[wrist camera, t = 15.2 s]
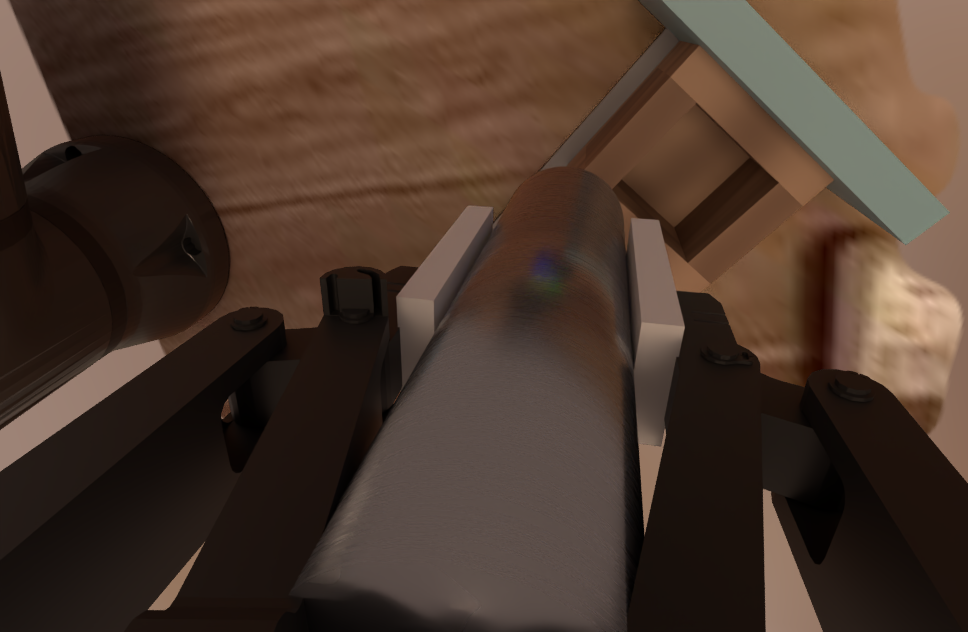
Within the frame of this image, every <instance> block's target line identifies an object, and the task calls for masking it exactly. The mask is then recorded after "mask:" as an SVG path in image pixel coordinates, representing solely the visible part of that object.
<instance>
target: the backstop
mask: <svg viewBox="0 0 968 632" xmlns="http://www.w3.org/2000/svg"><path fill="white" fill-rule="evenodd" d="M638 1H639V2H640V3H641V4H642V5H643V6H644V7H645V8H646V9H647V10H648V11H650V12H651V13H652V14H653V15H654V16H655V17H656V18H657V19H658V20H659V21H660V22H661V23H662V24H663V25H664V26H665V27H666V28H665V29H664V30H663V32H662V33H661V34H660V35H659V36H658V37H657V38H656V39H655V41H654V42H653V43H652V44H651V45H650V46H649V47H648V49H647V50H646V51H645V52H644V53H643V54H642V55H641V56H640V58H639V59H638V60H637V61H636V62H635V63H634V64H633V65H632V67H631V68H630V69H629V70H628V71H627V72H626V73H625V75H624V76H623V77H622V78H621V79H620V80H619V81H618V82H617V84H616V85H615V86H614V87H613V88H612V89H611V90H610V91H609V93H608V94H607V95H606V96H605V97H604V98H603V99H602V101H601V102H600V103H599V104H598V105H597V106H596V107H595V108H594V110H593V111H592V112H591V113H590V114H589V115H588V116H587V118H586V119H585V120H584V121H583V122H582V123H581V124H580V125H579V127H578V128H577V129H576V130H575V131H574V132H573V133H572V134H571V136H570V137H569V138H568V139H567V140H566V141H565V142H564V144H563V145H562V146H561V147H560V148H559V149H558V150H557V151H556V153H555V154H554V155H553V156H552V157H551V158H550V159H549V160H548V162H547V163H546V164H545V165H544V166H543V167H542V168H541V170H540V171H543V170H545V169H549V168H553V167H560V166H567V165H568V164H569V163H570V161H571V160H572V159H573V158H574V157H575V156H576V155H577V154H578V153H579V152H580V150H581V149H582V148H583V147H584V146H585V145H586V144H587V143H588V142H589V141H590V139H591V138H592V137H593V136H594V135H595V134H596V133H597V132H598V131H599V129H600V128H601V127H602V126H603V125H604V124H605V123H606V122H607V121H608V120H609V118H610V117H611V116H612V115H613V114H614V113H615V112H616V111H617V110H618V109H619V107H620V106H621V105H622V104H623V103H624V102H625V101H626V100H627V99H628V97H629V96H630V95H631V94H632V93H633V92H634V91H635V90H636V89H637V88H638V86H639V85H640V84H641V83H642V82H643V81H644V80H645V79H646V78H647V77H648V75H649V74H650V73H651V72H652V71H653V70H654V69H655V68H656V67H657V66H658V64H659V63H660V62H661V61H662V60H663V59H664V58H665V57H666V56H667V54H668V53H669V52H670V51H671V50H672V49H673V48H674V47H675V46H676V45H677V43H678V42H679V41H683V42H688V43H692V44H696V45H700V46H701V47H702V48H703V49H704V50H705V51H706V52H707V53H708V54H709V55H710V56H711V57H712V58H713V59H714V60H715V61H716V62H717V63H718V64H719V65H720V66H721V67H722V68H723V69H724V70H725V71H726V72H727V73H728V74H729V75H730V76H731V77H732V78H733V79H734V80H735V81H736V82H737V83H738V84H739V85H740V86H741V87H742V88H743V89H744V90H745V91H746V92H747V93H748V94H749V95H750V96H751V97H752V98H753V99H754V100H755V101H756V102H757V103H758V104H759V105H760V106H761V107H762V108H763V109H764V110H765V111H766V112H767V113H768V114H769V115H770V116H771V117H772V118H773V119H774V120H775V121H776V122H777V123H778V124H779V125H780V126H781V127H782V128H783V129H784V130H785V131H786V132H787V133H788V134H789V135H790V136H791V137H792V138H793V139H794V140H795V141H796V142H797V143H798V144H799V145H800V146H801V147H802V148H803V149H804V150H805V151H806V152H807V153H808V154H809V155H810V156H811V157H812V158H813V159H814V160H815V161H816V162H817V163H818V164H819V165H820V166H821V167H822V168H823V169H824V170H825V171H826V172H827V173H828V174H829V175H830V176H831V177H832V178H833V179H834V181H832V182H831V183H830V184H829V185H828V186H826V187H827V188H828V189H829V190H830V191H832V192H833V193H834V194H836V195H837V196H839V197H840V198H841V199H843V200H844V201H846V202H847V203H848V204H850V205H851V206H852V207H854V208H855V209H857V210H858V211H859V212H861V213H862V214H864V215H865V216H866V217H868V218H869V219H870V220H872V221H873V222H875V223H876V224H877V225H879V226H880V227H882V228H883V229H884V230H886V231H887V232H888V233H890V234H891V235H893V236H894V237H895V238H897V239H898V240H899V241H901V242H902V243H904V244H905V245H907V244H908V243H910V242H911V241H912V240H914V239H915V238H916V237H918V236H919V235H920V234H922V233H923V232H924V231H926V230H927V229H928V228H930V227H931V226H933V225H934V224H935V223H936V222H938V221H939V220H941V219H942V218H943V217H945V216H946V215H947V214H949V213H950V212H949V211H948V210H947V209H946V208H945V207H944V206H943V205H942V204H941V203H940V202H939V201H938V200H937V199H936V198H935V197H934V196H933V195H932V193H931V192H930V191H929V190H928V189H927V188H926V187H925V186H924V185H923V184H922V183H921V182H920V181H919V180H918V179H917V178H916V177H915V176H914V175H913V174H912V173H911V172H910V171H909V170H908V169H907V168H906V166H905V165H904V164H903V163H902V162H901V161H900V160H899V159H898V158H897V157H896V156H895V155H894V154H893V153H892V152H891V151H890V150H889V149H888V148H887V147H886V146H885V145H884V144H883V143H882V142H881V141H880V140H879V138H878V137H877V136H876V135H875V134H874V133H873V132H872V131H871V130H870V129H869V128H868V127H867V126H866V125H865V124H864V123H863V122H862V121H861V120H860V119H859V118H858V117H857V116H856V115H855V114H854V113H853V112H852V110H851V109H850V108H849V107H848V106H847V105H846V104H845V103H844V102H843V101H842V100H841V99H840V98H839V97H838V96H837V95H836V94H835V93H834V92H833V91H832V90H831V89H830V88H829V87H828V86H827V85H826V83H825V82H824V81H823V80H822V79H821V78H820V77H819V76H818V75H817V74H816V73H815V72H814V71H813V70H812V69H811V68H810V67H809V66H808V65H807V64H806V63H805V62H804V61H803V60H802V59H801V58H800V57H799V55H798V54H797V53H796V52H795V51H794V50H793V49H792V48H791V47H790V46H789V45H788V44H787V43H786V42H785V41H784V40H783V39H782V38H781V37H780V36H779V35H778V34H777V33H776V32H775V31H774V30H773V28H772V27H771V26H770V25H769V24H768V23H767V22H766V21H765V20H764V19H763V18H762V17H761V16H760V15H759V14H758V13H757V12H756V11H755V10H754V9H753V8H752V7H751V6H750V5H749V4H748V3H747V2H746V0H638ZM540 171H539V172H540ZM503 212H504V211H503ZM502 214H503V213H502ZM502 214H501V215H502ZM501 215H500V216H499V217H498V218H497V219H496V220H495V222H494V223H493V229H494V228H495V226H496V224H497V222H498V221H499V219H500V217H501Z"/></svg>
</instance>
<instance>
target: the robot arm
mask: <svg viewBox="0 0 968 632" xmlns="http://www.w3.org/2000/svg"><path fill="white" fill-rule="evenodd" d="M492 231H493V207H482V206H469V205H468V206H467V207H466V208H465V210H464V211H463V212H462V214H461V215H460V216H459V217H458V219H457V220H456V221H455V222H454V224H453V225H452V226H451V228H450V229H449V230H448V231H447V233H446V234H445V235H444V236H443V238H442V239H441V240H440V242H439V243H438V244H437V245H436V247H435V248H434V249H433V250H432V252H431V253H430V254H429V256H428V257H427V258H426V259H425V261H424V262H423V263H422V264H421V266H420V267H419V268H418V267H408V266H400V267H397V268H395V269H393V270H391V271H389V272H387V273H386V274H385V273H383V272H382V271H381V270H378V269H374V268H371V267H361V266H357V267H344V268H339V269H335V270H332V271H330V272H327V273H325V274H324V275H323V276H322V277H321V278H320V285H321V294H322V303H323V312H324V316H323V318H322V320H321V322H320V324H319V326H318V327H315V328H303V329H285V327H284V320H283V315H282V314H281V313H280V312H278V311H277V310H273V309H269V308H259V307H250V308H248V307H247V308H242V309H239V310H238V311H234V312H231V313H228V314H227V315H225V316H223V317H221V318H219V319H218V320H216V321H215V322H213V323H212V324H210V325H209V326H208V327H206V328H205V329H203V330H202V331H200V332H199V333H198V334H196V335H195V336H193V337H192V338H191V339H189V340H188V341H186V342H185V343H183V344H182V345H181V346H179V347H178V348H176V349H175V350H173V351H172V352H171V353H169V354H168V355H166V356H165V357H163V358H162V359H161V360H159V361H158V362H156V363H155V364H153V365H152V366H151V367H149V368H148V369H146V370H145V371H143V372H142V373H141V374H139V375H138V376H136V377H135V378H133V379H132V380H131V381H129V382H128V383H126V384H125V385H123V386H122V387H121V388H119V389H118V390H116V391H115V392H113V393H112V394H111V395H109V396H108V397H106V398H105V399H104V400H102V401H101V402H99V403H98V404H96V405H95V406H94V407H92V408H91V409H89V410H88V411H86V412H85V413H83V414H82V415H81V416H79V417H78V418H76V419H75V420H73V421H72V422H71V423H69V424H68V425H66V426H65V427H63V428H62V429H61V430H60V431H58V432H56V433H55V434H54V435H52V436H51V437H49V438H48V439H46V440H45V441H44V442H42V443H41V444H39V445H38V446H36V447H35V448H33V449H32V450H31V451H29V452H28V453H26V454H25V455H23V456H22V457H21V458H19V459H18V460H16V461H15V462H13V463H12V464H11V465H9V466H8V467H6V468H5V469H3V470H2V471H1V472H0V632H309V630H308V624H307V618H306V612H305V606H304V600H303V598H301V597H296V596H291V595H289V593H290V591H291V590H292V588H293V586H294V584H295V582H296V581H297V579H298V577H299V575H300V574H301V572H302V570H303V568H304V567H305V565H306V563H307V561H308V559H309V558H310V556H311V554H312V552H313V551H314V549H315V547H316V545H317V543H318V542H319V540H320V538H321V536H322V535H323V532H324V530H325V528H326V526H327V524H328V522H329V520H330V518H331V516H332V513H333V511H334V509H335V507H336V505H337V503H338V501H339V499H340V498H341V496H342V494H343V492H344V491H345V489H346V487H347V485H348V483H349V482H350V480H351V478H352V476H353V475H354V473H355V471H356V469H357V468H358V466H359V464H360V462H361V461H362V459H363V457H364V455H365V454H366V452H367V450H368V448H369V447H370V445H371V443H372V441H373V440H374V438H375V436H376V434H377V433H378V431H379V429H380V427H381V426H382V424H383V422H384V420H385V419H386V417H387V415H388V413H389V412H390V410H391V408H392V406H393V405H394V404H393V402H394V401H395V399H396V397H397V395H398V394H399V392H400V390H401V391H402V389H403V387H404V385H405V384H406V382H407V380H408V378H409V377H410V375H411V373H412V371H413V370H414V368H415V366H416V364H417V363H418V361H419V359H420V357H421V356H422V354H423V352H424V350H425V349H426V347H427V345H428V343H429V342H430V340H431V338H432V336H433V335H434V333H435V331H436V329H437V328H438V326H439V324H440V322H441V321H442V319H443V317H444V315H445V314H446V312H447V310H448V308H449V307H450V305H451V303H452V301H453V300H454V298H455V296H456V294H457V293H458V291H459V289H460V287H461V286H462V284H463V282H464V280H465V279H466V277H467V275H468V273H469V272H470V270H471V268H472V266H473V265H474V263H475V261H476V259H477V258H478V256H479V254H480V252H481V251H482V249H483V247H484V245H485V244H486V242H487V240H488V238H489V236H490V235H491V233H492ZM626 263H627V278H628V293H629V309H630V324H631V339H632V354H633V370H634V385H635V400H636V415H637V431H638V443H639V444H647V445H654V446H661V444H662V439H663V433H664V429H666V439H665V444H664V449H663V453H662V457H661V462H660V467H659V471H658V476H657V481H656V485H655V490H654V495H653V500H652V504H651V509H650V514H649V518H648V523H647V527H646V532H645V537H644V541H643V546H642V551H641V555H640V560H639V565H638V569H637V574H636V579H635V584H634V588H633V593H632V598H631V602H630V607H629V612H628V616H627V632H766V629H765V582H764V536H763V535H764V534H763V533H764V532H763V531H764V530H763V489H766V490H769V491H771V496H772V503H773V506H774V508H775V511H776V513H777V516H778V518H779V521H780V523H781V526H782V528H783V531H784V533H785V536H786V538H787V541H788V543H789V546H790V548H791V551H792V554H793V556H794V559H795V561H796V564H797V566H798V569H799V572H800V574H801V577H802V579H803V582H804V584H805V587H806V589H807V592H808V594H809V597H810V599H811V602H812V605H813V607H814V610H815V612H816V615H817V617H818V620H819V622H820V625H821V628H822V630H823V632H968V483H967V482H966V481H965V480H964V478H963V477H962V476H961V475H960V474H959V472H958V471H957V470H956V469H955V468H954V466H953V465H952V464H951V463H950V462H949V461H948V459H947V458H946V457H945V456H944V454H943V453H942V452H941V451H940V450H939V448H938V447H937V446H936V445H935V444H934V442H933V441H932V440H931V439H930V438H929V436H928V435H927V434H926V433H925V432H924V430H923V429H922V428H921V427H920V426H919V424H918V423H917V422H916V421H915V420H914V418H913V417H912V416H911V415H910V414H909V412H908V411H907V410H906V409H905V408H904V406H903V405H902V404H901V403H900V402H899V400H898V399H897V398H896V397H895V396H894V394H893V393H891V392H890V391H889V390H888V389H887V388H886V387H884V386H883V385H881V384H880V383H878V382H876V381H874V380H872V379H870V378H869V377H868V376H865V375H862V374H860V375H859V374H858V373H856V372H853V371H842V370H837V369H822V370H819V371H816V372H812V374H811V375H810V376H809V377H808V379H807V382H806V386H805V387H801V386H798V385H794V384H790V383H787V382H783V381H780V380H777V379H774V378H771V377H769V376H766V375H764V374H762V373H760V362H759V360H758V358H757V356H756V355H755V354H753V353H752V352H751V351H750V350H748V349H746V348H744V347H742V346H740V345H738V344H737V343H736V340H735V338H734V335H733V333H732V330H731V327H730V325H728V324H729V322H728V320H727V317H726V316H725V312H724V310H723V307H722V305H721V303H720V302H718V301H717V300H716V299H715V298H713V297H712V296H711V295H710V294H707V293H697V292H686V291H676V288H675V284H674V280H673V276H672V272H671V268H670V264H669V260H668V255H667V251H666V247H665V243H664V239H663V235H662V231H661V227H660V223H659V220H651V219H638V218H631V223H630V230H629V237H628V244H627V251H626ZM228 274H229V254H228V247H227V242H226V238H225V234H224V231H223V228H222V226H221V223H220V221H219V218H218V216H217V214H216V212H215V210H214V208H213V207H212V205H211V203H210V202H209V200H208V199H207V197H206V196H205V194H204V193H203V192H202V190H201V189H200V188H199V186H198V185H197V184H196V183H195V182H194V181H193V180H192V178H191V177H190V176H189V175H188V174H187V173H186V172H185V171H183V170H182V169H181V168H180V167H179V166H178V165H177V164H175V163H174V162H173V161H171V160H170V159H169V158H167V157H166V156H164V155H163V154H161V153H160V152H158V151H156V150H154V149H153V148H151V147H149V146H147V145H144V144H142V143H139V142H137V141H134V140H131V139H127V138H123V137H118V136H109V135H99V136H91V137H86V138H81V139H77V140H73V141H68V142H64V143H61V144H58V145H56V146H54V147H52V148H50V149H48V150H46V151H44V152H43V153H41V154H40V155H38V156H37V157H36V158H35V159H34V160H32V161H31V162H30V163H28V164H27V165H26V166H25V167H24V168H22V169H21V165H20V160H19V155H18V151H17V146H16V141H15V137H14V132H13V127H12V123H11V118H10V114H9V110H8V104H7V100H6V95H5V91H4V86H3V81H2V77H1V72H0V430H1V429H2V428H4V427H5V426H6V425H8V424H9V423H11V422H12V421H14V420H15V419H16V418H18V417H19V416H21V415H22V414H23V413H25V412H26V411H28V410H29V409H30V408H32V407H33V406H35V405H36V404H37V403H39V402H40V401H42V400H43V399H44V398H46V397H47V396H49V395H50V394H52V393H53V392H54V391H56V390H57V389H59V388H60V387H62V386H63V385H64V384H66V383H67V382H68V381H70V380H71V379H73V378H74V377H76V376H77V375H78V374H80V373H81V372H83V371H84V370H86V369H87V368H88V367H90V366H91V365H93V364H94V363H95V362H96V361H98V360H100V359H101V358H102V357H104V356H105V355H107V354H108V353H110V352H112V351H114V350H118V349H122V348H126V347H130V346H134V345H138V344H142V343H146V342H150V341H154V340H158V339H162V338H166V337H170V336H173V335H176V334H178V333H180V332H182V331H184V330H186V329H188V328H189V327H191V326H192V325H193V324H195V323H196V322H197V321H199V320H200V319H201V318H203V317H204V316H205V315H207V314H208V313H209V312H210V311H211V310H212V309H213V308H214V307H215V306H216V305H217V303H218V302H219V300H220V298H221V297H222V295H223V292H224V290H225V287H226V284H227V280H228ZM227 399H228V400H229V405H230V409H231V412H230V413H229V414H228V415H227V416H226V417H225V418H224V419H221V412H222V409H223V406H224V403H225V402H226V400H227ZM204 542H205V543H204ZM203 543H204V545H203V547H202V549H201V551H200V553H199V555H198V557H197V558H196V560H195V562H194V565H193V566H192V568H191V570H190V572H189V574H188V576H187V578H186V579H185V581H184V584H183V585H182V587H181V589H180V591H179V593H178V595H177V597H176V598H175V600H174V601H173V603H172V604H171V606H170V607H169V608H167V609H166V610H148V609H149V607H150V606H151V605H152V604H153V603H154V602H155V600H156V599H157V598H158V597H159V595H160V594H161V593H162V592H163V591H164V590H165V588H166V587H167V586H168V585H169V584H170V582H171V581H172V580H173V579H174V578H175V577H176V575H177V574H178V573H179V572H180V570H181V569H182V568H183V567H184V566H185V565H186V563H187V562H188V561H189V560H190V559H191V557H192V556H193V555H194V554H195V553H196V551H197V550H198V549H199V548H200V547H201V545H202V544H203Z"/></svg>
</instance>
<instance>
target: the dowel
mask: <svg viewBox="0 0 968 632" xmlns="http://www.w3.org/2000/svg"><path fill="white" fill-rule="evenodd" d="M643 523H644V522H643V507H642V492H641V476H640V462H639V446H638V431H637V415H636V400H635V385H634V370H633V354H632V339H631V324H630V309H629V293H628V278H627V263H626V247H625V232H624V218H623V212H622V207H621V205H620V202H619V200H618V198H617V196H616V194H615V193H614V191H613V190H612V189H611V187H610V186H609V185H608V184H607V183H606V182H605V181H604V180H602V179H601V178H600V177H598V176H597V175H595V174H593V173H591V172H589V171H587V170H584V169H580V168H577V167H569V166H560V167H553V168H549V169H545V170H543V171H540V172H538V173H536V174H534V175H532V176H531V177H529V178H528V179H527V180H526V181H524V182H523V183H522V184H521V185H520V186H519V187H518V189H517V190H516V191H515V193H514V194H513V196H512V198H511V200H510V201H509V203H508V205H507V207H506V208H505V210H504V212H503V214H502V215H501V217H500V219H499V221H498V222H497V224H496V226H495V228H494V229H493V231H492V233H491V235H490V236H489V238H488V240H487V242H486V244H485V245H484V247H483V249H482V251H481V252H480V254H479V256H478V258H477V259H476V261H475V263H474V265H473V266H472V268H471V270H470V272H469V273H468V275H467V277H466V279H465V280H464V282H463V284H462V286H461V287H460V289H459V291H458V293H457V294H456V296H455V298H454V300H453V301H452V303H451V305H450V307H449V308H448V310H447V312H446V314H445V315H444V317H443V319H442V321H441V322H440V324H439V326H438V328H437V329H436V331H435V333H434V335H433V336H432V338H431V340H430V342H429V343H428V345H427V347H426V349H425V350H424V352H423V354H422V356H421V357H420V359H419V361H418V363H417V364H416V366H415V368H414V370H413V371H412V373H411V375H410V377H409V378H408V380H407V382H406V384H405V385H404V387H403V389H402V391H401V392H400V394H399V396H398V398H397V399H396V401H395V403H394V405H393V406H392V408H391V410H390V412H389V413H388V415H387V417H386V419H385V420H384V422H383V424H382V426H381V427H380V429H379V431H378V433H377V434H376V436H375V438H374V440H373V441H372V443H371V445H370V447H369V448H368V450H367V452H366V454H365V455H364V457H363V459H362V461H361V462H360V464H359V466H358V468H357V469H356V471H355V473H354V475H353V476H352V478H351V480H350V482H349V483H348V485H347V487H346V489H345V491H344V492H343V494H342V496H341V498H340V499H339V501H338V503H337V505H336V507H335V509H334V511H333V513H332V516H331V518H330V520H329V522H328V524H327V526H326V528H325V530H324V532H323V535H322V536H321V538H320V540H319V542H318V543H317V545H316V547H315V549H314V551H313V552H312V554H311V556H310V558H309V559H308V561H307V563H306V565H305V567H304V568H303V570H302V572H301V574H300V575H299V577H298V579H297V581H296V582H295V584H294V586H293V588H292V590H291V591H290V593H289V595H291V596H296V597H301V598H303V600H304V606H305V612H306V618H307V624H308V630H309V632H627V616H628V612H629V607H630V602H631V598H632V593H633V588H634V584H635V579H636V574H637V569H638V565H639V560H640V555H641V551H642V546H643V541H644V524H643Z"/></svg>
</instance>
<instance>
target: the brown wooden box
mask: <svg viewBox="0 0 968 632" xmlns="http://www.w3.org/2000/svg"><path fill="white" fill-rule="evenodd" d="M567 166H569V167H577V168H580V169H584V170H587V171H589V172H591V173H593V174H595V175H597V176H598V177H600V178H601V179H602V180H604V181H605V182H606V183H607V184H608V185H609V186H610V187H611V189H612V190H613V191H614V193H615V194H616V196H617V198H618V200H619V202H620V205H621V207H622V212H623V218H624V232H625V247H626V251H627V244H628V237H629V230H630V223H631V218H638V219H651V220H659V223H660V227H661V231H662V235H663V239H664V243H665V247H666V251H667V255H668V260H669V264H670V268H671V272H672V276H673V280H674V284H675V288H676V291H686V292H697V293H700V292H702V291H703V290H704V289H705V288H706V287H708V286H709V285H710V284H711V283H712V282H713V281H715V280H716V279H717V278H718V277H719V276H721V275H722V274H723V273H724V272H725V271H727V270H728V269H729V268H730V267H731V266H732V265H734V264H735V263H736V262H737V261H738V260H740V259H741V258H742V257H743V256H744V255H746V254H747V253H748V252H749V251H750V250H752V249H753V248H754V247H755V246H756V245H757V244H759V243H760V242H761V241H762V240H763V239H765V238H766V237H767V236H768V235H769V234H771V233H772V232H773V231H774V230H775V229H776V228H778V227H779V226H780V225H781V224H782V223H784V222H785V221H786V220H787V219H788V218H790V217H791V216H792V215H793V214H794V213H796V212H797V211H798V210H799V209H800V208H801V207H803V206H804V205H805V204H806V203H807V202H809V201H810V200H811V199H812V198H813V197H815V196H816V195H817V194H818V193H819V192H821V191H822V190H823V189H824V188H825V187H826V186H828V185H829V184H830V183H831V182H832V181H834V179H833V178H832V177H831V176H830V175H829V174H828V173H827V172H826V171H825V170H824V169H823V168H822V167H821V166H820V165H819V164H818V163H817V162H816V161H815V160H814V159H813V158H812V157H811V156H810V155H809V154H808V153H807V152H806V151H805V150H804V149H803V148H802V147H801V146H800V145H799V144H798V143H797V142H796V141H795V140H794V139H793V138H792V137H791V136H790V135H789V134H788V133H787V132H786V131H785V130H784V129H783V128H782V127H781V126H780V125H779V124H778V123H777V122H776V121H775V120H774V119H773V118H772V117H771V116H770V115H769V114H768V113H767V112H766V111H765V110H764V109H763V108H762V107H761V106H760V105H759V104H758V103H757V102H756V101H755V100H754V99H753V98H752V97H751V96H750V95H749V94H748V93H747V92H746V91H745V90H744V89H743V88H742V87H741V86H740V85H739V84H738V83H737V82H736V81H735V80H734V79H733V78H732V77H731V76H730V75H729V74H728V73H727V72H726V71H725V70H724V69H723V68H722V67H721V66H720V65H719V64H718V63H717V62H716V61H715V60H714V59H713V58H712V57H711V56H710V55H709V54H708V53H707V52H706V51H705V50H704V49H703V48H702V47H701V46H700V45H696V44H692V43H688V42H683V41H679V42H678V43H677V45H676V46H675V47H674V48H673V49H672V50H671V51H670V52H669V53H668V54H667V56H666V57H665V58H664V59H663V60H662V61H661V62H660V63H659V64H658V66H657V67H656V68H655V69H654V70H653V71H652V72H651V73H650V74H649V75H648V77H647V78H646V79H645V80H644V81H643V82H642V83H641V84H640V85H639V86H638V88H637V89H636V90H635V91H634V92H633V93H632V94H631V95H630V96H629V97H628V99H627V100H626V101H625V102H624V103H623V104H622V105H621V106H620V107H619V109H618V110H617V111H616V112H615V113H614V114H613V115H612V116H611V117H610V118H609V120H608V121H607V122H606V123H605V124H604V125H603V126H602V127H601V128H600V129H599V131H598V132H597V133H596V134H595V135H594V136H593V137H592V138H591V139H590V141H589V142H588V143H587V144H586V145H585V146H584V147H583V148H582V149H581V150H580V152H579V153H578V154H577V155H576V156H575V157H574V158H573V159H572V160H571V161H570V163H569V164H568V165H567Z"/></svg>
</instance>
